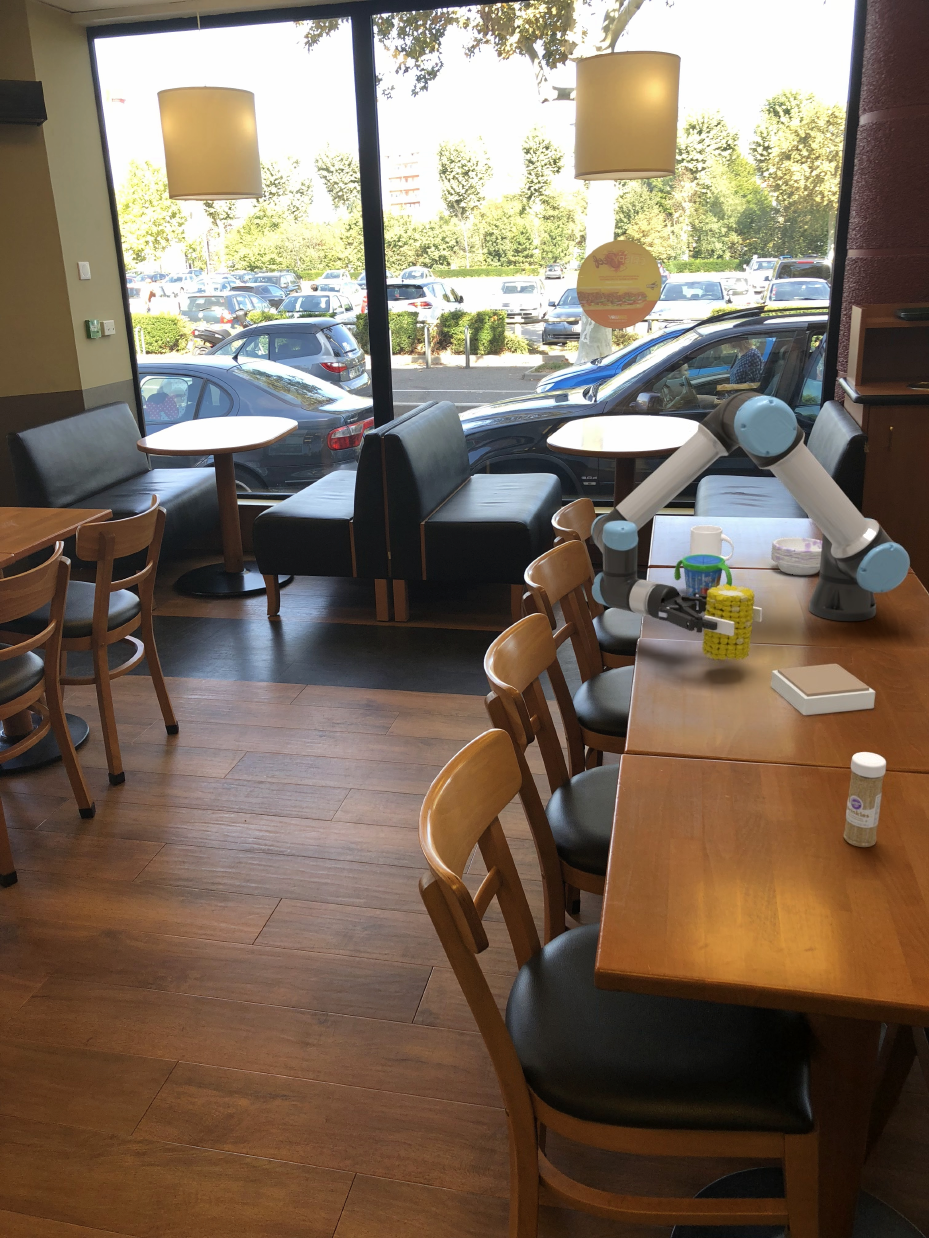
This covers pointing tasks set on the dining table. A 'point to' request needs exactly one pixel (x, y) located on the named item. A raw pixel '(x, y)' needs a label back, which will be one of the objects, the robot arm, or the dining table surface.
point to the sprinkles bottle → (864, 799)
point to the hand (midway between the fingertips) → (747, 622)
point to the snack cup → (702, 572)
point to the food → (732, 608)
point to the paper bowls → (797, 555)
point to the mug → (708, 541)
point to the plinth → (822, 689)
